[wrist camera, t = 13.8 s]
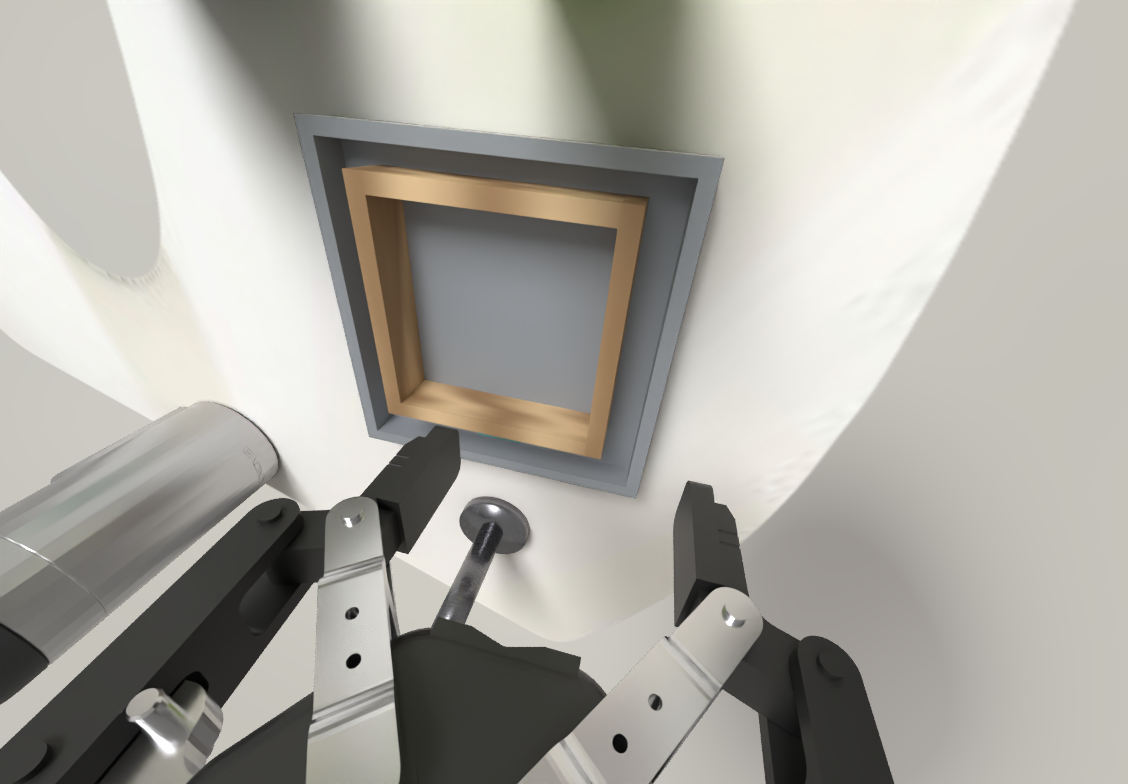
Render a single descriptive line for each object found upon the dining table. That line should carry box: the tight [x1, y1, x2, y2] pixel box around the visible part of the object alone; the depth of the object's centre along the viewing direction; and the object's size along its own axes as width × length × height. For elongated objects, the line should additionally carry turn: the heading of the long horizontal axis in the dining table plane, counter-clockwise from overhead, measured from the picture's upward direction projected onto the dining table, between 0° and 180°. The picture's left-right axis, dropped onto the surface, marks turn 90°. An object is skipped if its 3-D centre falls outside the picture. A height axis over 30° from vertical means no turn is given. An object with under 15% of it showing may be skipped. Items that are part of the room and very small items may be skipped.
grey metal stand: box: [431, 497, 529, 628], centre depth 30 cm, size 6×7×13 cm
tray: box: [293, 113, 724, 499], centre depth 24 cm, size 20×20×2 cm
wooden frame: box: [342, 165, 649, 459], centre depth 23 cm, size 14×16×3 cm
